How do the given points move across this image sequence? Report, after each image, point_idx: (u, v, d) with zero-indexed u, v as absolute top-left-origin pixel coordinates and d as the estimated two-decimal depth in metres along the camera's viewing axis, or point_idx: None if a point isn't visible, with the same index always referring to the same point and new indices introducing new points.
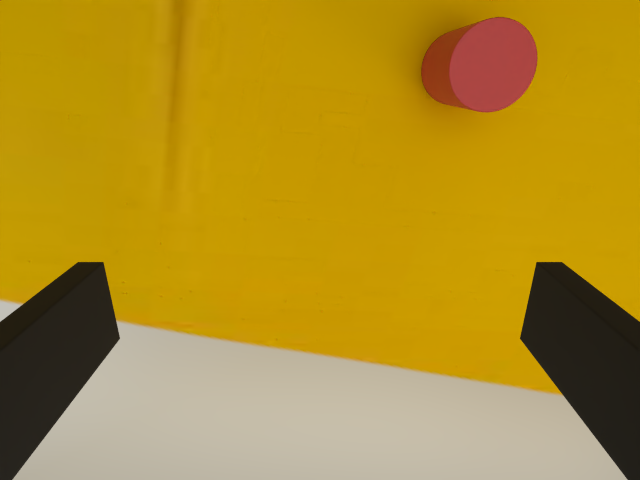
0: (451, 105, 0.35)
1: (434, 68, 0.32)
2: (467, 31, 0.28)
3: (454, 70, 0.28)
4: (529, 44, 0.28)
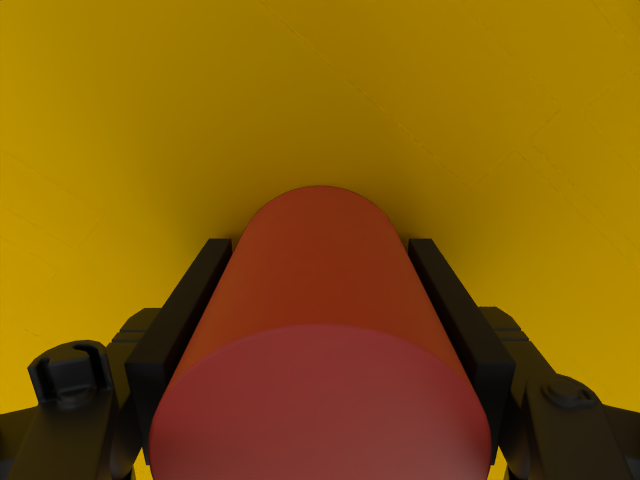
0: None
1: None
2: (279, 327, 0.06)
3: (175, 421, 0.07)
4: (470, 469, 0.07)
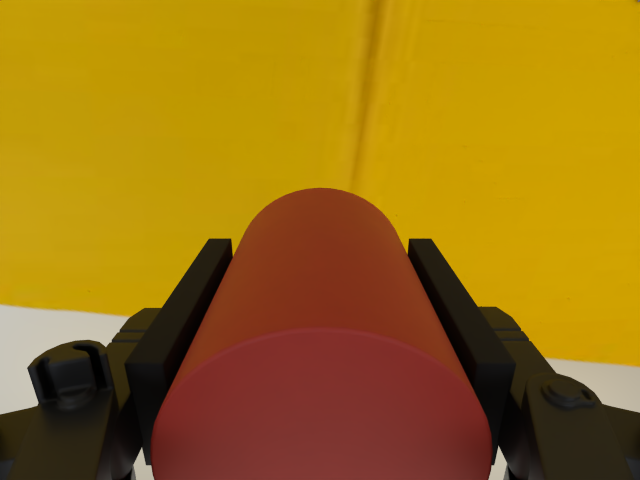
0: None
1: (217, 290, 0.10)
2: (281, 331, 0.06)
3: (177, 424, 0.07)
4: (470, 472, 0.07)
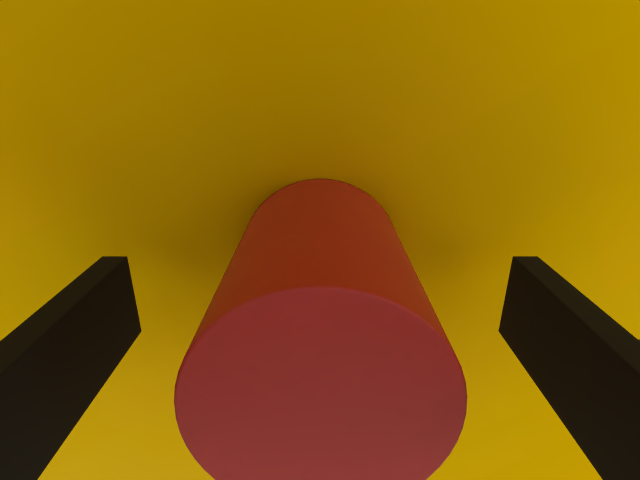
0: None
1: (227, 268, 0.12)
2: (286, 290, 0.07)
3: (198, 372, 0.08)
4: (448, 415, 0.08)
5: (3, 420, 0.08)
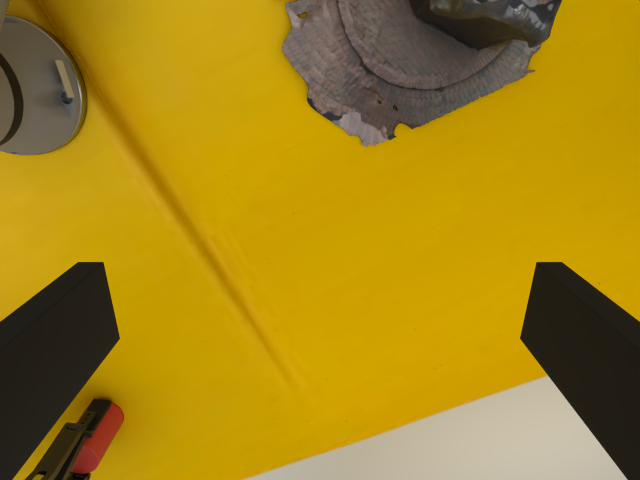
0: None
1: None
2: None
3: None
4: (95, 458, 0.59)
5: None
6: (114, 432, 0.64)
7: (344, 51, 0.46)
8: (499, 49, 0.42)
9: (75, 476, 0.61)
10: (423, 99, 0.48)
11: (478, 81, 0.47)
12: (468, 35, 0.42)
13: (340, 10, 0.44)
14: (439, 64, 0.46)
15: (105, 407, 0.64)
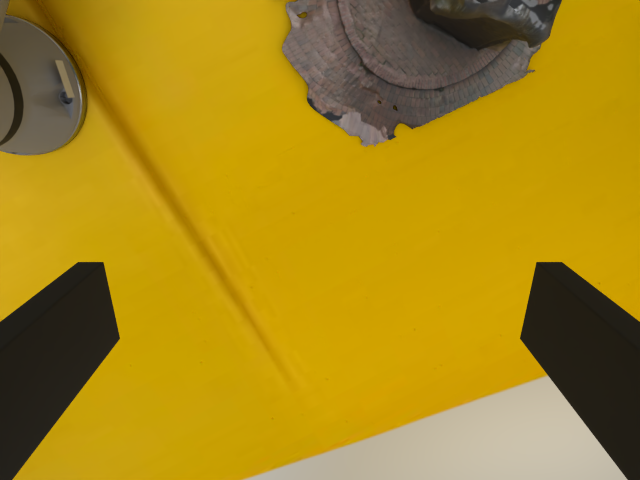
0: None
1: None
2: None
3: None
4: None
5: None
6: None
7: (344, 51, 0.46)
8: (499, 49, 0.42)
9: None
10: (423, 99, 0.48)
11: (478, 81, 0.47)
12: (468, 35, 0.42)
13: (340, 10, 0.44)
14: (439, 64, 0.46)
15: None
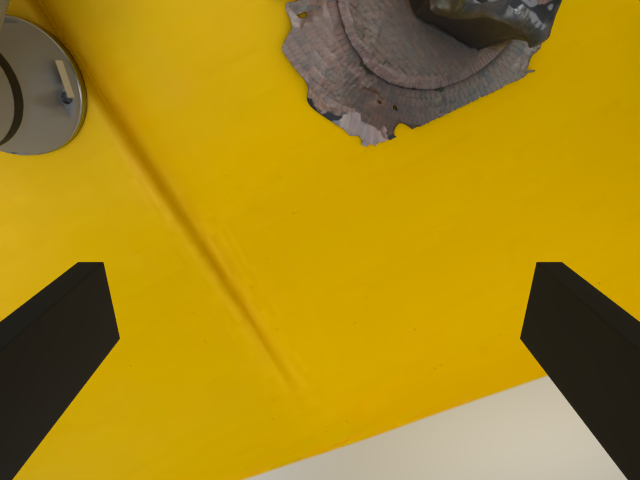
0: None
1: None
2: None
3: None
4: None
5: None
6: None
7: (344, 51, 0.46)
8: (499, 49, 0.42)
9: None
10: (423, 99, 0.48)
11: (478, 81, 0.47)
12: (468, 35, 0.42)
13: (340, 10, 0.44)
14: (439, 64, 0.46)
15: None
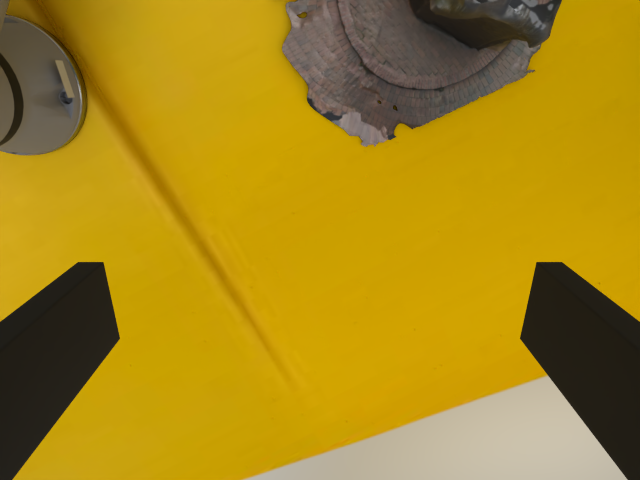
0: None
1: None
2: None
3: None
4: None
5: None
6: None
7: (344, 51, 0.46)
8: (499, 49, 0.42)
9: None
10: (423, 99, 0.48)
11: (478, 81, 0.47)
12: (468, 35, 0.42)
13: (340, 10, 0.44)
14: (439, 64, 0.46)
15: None
